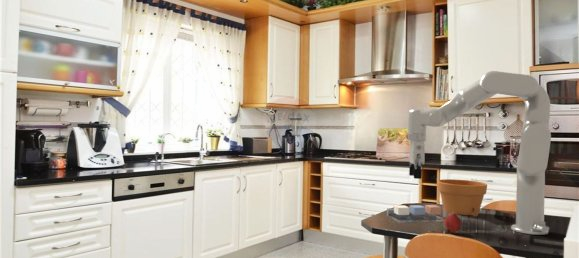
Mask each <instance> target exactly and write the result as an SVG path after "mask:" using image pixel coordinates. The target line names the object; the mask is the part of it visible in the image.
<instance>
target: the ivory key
mask: <svg viewBox="0 0 579 258" xmlns="http://www.w3.org/2000/svg"><path fill="white" fill-rule="evenodd" d="M393 208H394V213H396V214H397V215H409V208H410V206H406V205H393Z"/></svg>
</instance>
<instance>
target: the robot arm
mask: <svg viewBox="0 0 579 258" xmlns="http://www.w3.org/2000/svg"><path fill="white" fill-rule="evenodd" d="M495 95H505V96H512V97H517V98H519V99H521V100H522V101H523V102H524V116H523V118H524V119H523V124H522V129H521V132H520V142H519V143H520V144H519V152H518V156H517V159H516V192H515V193H516V200H515V201H516V202H515V206H516V207H515V224H512V225H511V230H513V231H514V232H517V233H521V234H527V235H538V236H539V235H540V236H541V235H548V234H549V230H550V227H549V226H547V225H546V221H545V197H546V195H545V192H546V189H545V188H546V170H547V168H548V161H549V154H550V149H551V141H552V134H551V130H550V129H549V126H550V118H551V117H550V115H551V114H550V113H551V99H550V96H549V94H548V93H547V90H545V88H544V87H543V86H542V85H540V84H539V82H538V81H537V79H536V78H535V76H532V75H529V74H523V73H522V74H521V73H516V72H515V73H513V72H506V71H505V72H504V71H497V70H491V71H488V72H486V73H484V74H483V76H482V77H481V78H479V79H478V80H477V81H475V82H473V83H472V84H470V85H468V86H466V87H465V88H463V89H462V90H460V91H458V92H457V94H456V95H455V96H454V97H453V98H452V99H451V100H449V101H447V102H446V103H445V104H443V105H441V106H440V107H438V108H432V109H418V108H415V109H414V108H413V109H409V111H408V117H407V118H408V120H407V122H408V123H407V124H408V125H407V141H408V142H409V147H408V148H409V151H408V159H409V160H408V161H409V166H408V167H409V171H408V175H409V176H413V178H414V179H415V180H416V179H419V180H421V179H422V177H423V167H422V166H423V165H425V156H426V155H425V142H426V140H427V127H433V128H436V127H437V128H438V127H442V126H444V125H446V124H447V123H449V122H452V121H453V120H455V119H456V118H458V117H460V116H461V115H463V114H464V113H467V112H469V111H471V110H472V109H474V108H475V107H477V106H479V105H480V104H482V103H483V102H486V101H487V100H488V99H491V98H492V97H494V96H495Z"/></svg>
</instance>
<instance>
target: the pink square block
mask: <svg viewBox="0 0 579 258" xmlns="http://www.w3.org/2000/svg"><path fill="white" fill-rule="evenodd" d="M424 207H425V212H426V213H428V214H430V215H431V214H436V215H441V214H442V207H441V206H438V205H436V204H428V205H427V204H425V205H424Z"/></svg>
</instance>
